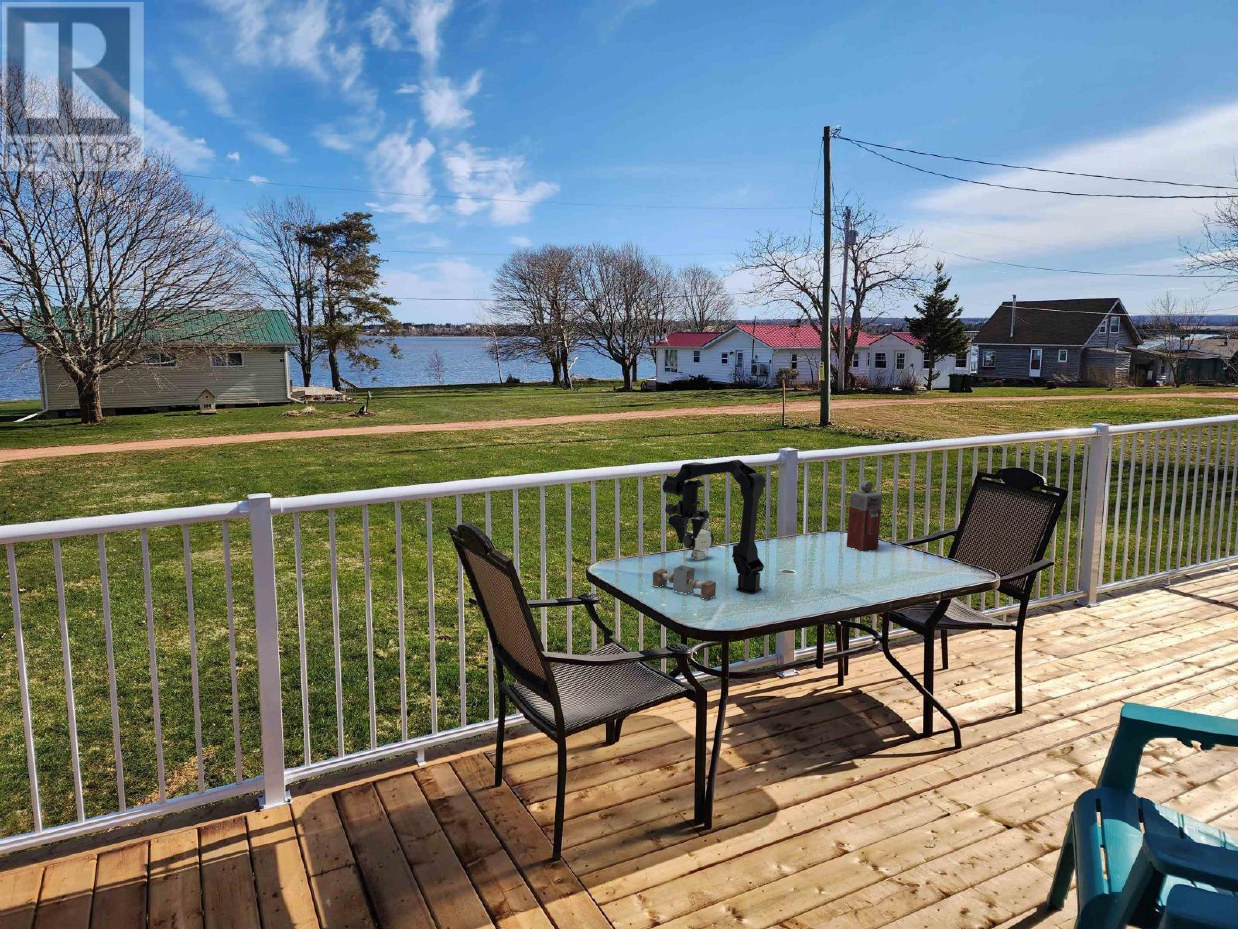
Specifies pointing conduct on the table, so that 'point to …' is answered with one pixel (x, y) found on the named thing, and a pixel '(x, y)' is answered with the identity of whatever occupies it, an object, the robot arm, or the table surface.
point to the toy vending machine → (864, 518)
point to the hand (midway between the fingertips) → (688, 540)
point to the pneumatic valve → (698, 543)
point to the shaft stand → (706, 588)
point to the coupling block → (683, 579)
